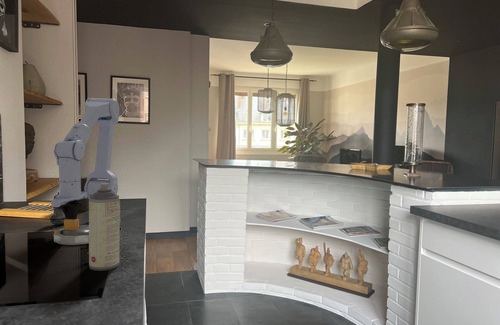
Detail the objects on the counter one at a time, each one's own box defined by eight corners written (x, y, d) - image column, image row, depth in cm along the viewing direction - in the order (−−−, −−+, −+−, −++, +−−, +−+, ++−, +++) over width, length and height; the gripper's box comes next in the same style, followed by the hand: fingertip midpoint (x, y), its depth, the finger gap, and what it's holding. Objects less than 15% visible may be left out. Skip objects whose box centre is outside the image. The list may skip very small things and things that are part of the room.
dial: (103, 234, 110) (103, 217, 109) (86, 242, 101) (86, 224, 100) (74, 232, 111) (74, 215, 110) (55, 240, 102) (55, 222, 101)
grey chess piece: (60, 229, 117) (59, 193, 116) (44, 228, 118) (44, 192, 117) (72, 225, 122) (72, 191, 122) (57, 224, 124) (57, 190, 123)
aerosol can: (104, 258, 91) (105, 181, 90) (125, 263, 88) (126, 183, 87) (82, 267, 85) (82, 184, 83) (104, 272, 82) (104, 186, 81)
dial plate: (89, 231, 116) (89, 221, 116) (118, 239, 108) (118, 229, 108) (42, 241, 104) (41, 230, 103) (70, 252, 95) (70, 240, 95)
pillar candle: (83, 212, 142) (83, 175, 142) (59, 211, 143) (59, 174, 142) (94, 208, 152) (94, 173, 151) (71, 207, 152) (72, 172, 151)
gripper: (72, 177, 113) (73, 219, 114) (40, 183, 99) (41, 231, 100) (93, 178, 112) (93, 220, 113) (64, 185, 98) (65, 233, 99)
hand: (70, 226), depth 107 cm, fingers closed, pressing on dial
